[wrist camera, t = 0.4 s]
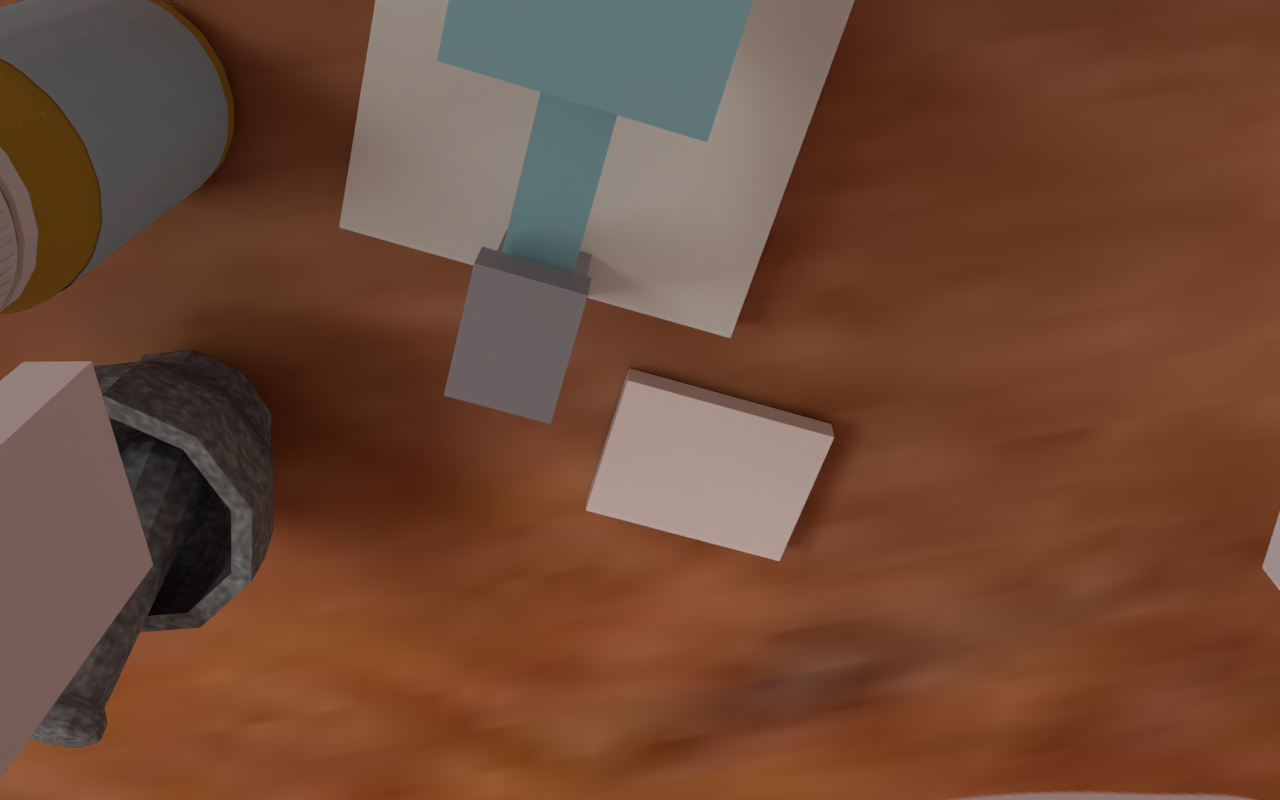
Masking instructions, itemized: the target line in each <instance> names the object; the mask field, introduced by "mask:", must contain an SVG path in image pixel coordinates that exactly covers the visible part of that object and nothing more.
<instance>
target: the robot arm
mask: <svg viewBox="0 0 1280 800" xmlns="http://www.w3.org/2000/svg"><path fill="white" fill-rule="evenodd" d="M152 566H153V562H152V559H151V556H150V552H149V549H148V546H147V542H146V539H145V536H144V532H143V529H142V526H141V523H140V519H139V516H138V513H137V509H136V506H135V503H134V499H133V496H132V493H131V489H130V486H129V483H128V479H127V476H126V473H125V470H124V466H123V463H122V460H121V456H120V453H119V450H118V446H117V443H116V440H115V436H114V433H113V430H112V427H111V423H110V420H109V417H108V413H107V410H106V407H105V403H104V400H103V397H102V393H101V390H100V387H99V383H98V380H97V377H96V374H95V370H94V367H93V364H92V361H70V362H23V363H21V364H20V365H19V366H18V367H17V368H15V369H14V370H13V371H12V372H10V373H9V374H8V375H7V376H6V377H4V378H3V379H2V380H1V381H0V779H1V778H2V776H3V775H4V773H5V772H6V771H7V769H8V768H9V766H10V765H11V764H12V762H13V761H14V759H15V758H16V757H17V755H18V754H19V752H20V751H21V750H22V748H23V747H24V745H25V744H26V743H27V741H28V740H29V738H30V737H31V736H32V734H33V733H34V731H35V730H36V728H37V727H38V726H39V724H40V723H41V721H42V720H43V719H44V717H45V716H46V714H47V713H48V712H49V710H50V709H51V707H52V706H53V705H54V703H55V702H56V700H57V699H58V698H59V696H60V695H61V693H62V692H63V691H64V689H65V688H66V686H67V685H68V684H69V682H70V681H71V679H72V678H73V677H74V675H75V674H76V672H77V671H78V670H79V668H80V667H81V665H82V664H83V663H84V661H85V660H86V658H87V657H88V656H89V654H90V653H91V651H92V650H93V649H94V647H95V646H96V644H97V643H98V642H99V640H100V639H101V637H102V636H103V635H104V633H105V632H106V630H107V629H108V628H109V626H110V625H111V623H112V622H113V621H114V619H115V618H116V616H117V615H118V614H119V612H120V611H121V609H122V608H123V606H124V605H125V604H126V602H127V601H128V599H129V598H130V597H131V595H132V594H133V592H134V591H135V590H136V588H137V587H138V585H139V584H140V583H141V581H142V580H143V578H144V577H145V576H146V574H147V573H148V571H149V570H150V569H151V567H152ZM1262 568H1263V570H1264V571H1265V572H1266V573H1267V575H1268V576H1269V577H1270V579H1271V580H1272V581H1273V583H1274V584H1275V585H1276V586H1277V588H1278V589H1279V590H1280V513H1279V516H1278V519H1277V522H1276V525H1275V529H1274V532H1273V535H1272V538H1271V541H1270V544H1269V548H1268V551H1267V554H1266V557H1265V560H1264V564H1263V567H1262Z"/></svg>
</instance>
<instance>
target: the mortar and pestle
mask: <svg viewBox="0 0 1280 800" xmlns="http://www.w3.org/2000/svg"><path fill="white" fill-rule="evenodd" d="M94 370H95V374H96V377H97V380H98V383H99V387H100V390H101V393H102V397H103V400H104V403H105V407H106V410H107V413H108V417H109V420H110V423H111V427H112V430H113V433H114V436H115V440H116V443H117V446H118V450H119V453H120V456H121V460H122V463H123V466H124V470H125V473H126V476H127V479H128V483H129V486H130V489H131V493H132V496H133V499H134V503H135V506H136V509H137V513H138V516H139V519H140V523H141V526H142V529H143V532H144V536H145V539H146V542H147V546H148V549H149V552H150V556H151V559H152V562H153V566H152V567H151V569H150V570H149V571H148V573H147V574H146V576H145V577H144V578H143V580H142V581H141V583H140V584H139V585H138V587H137V588H136V590H135V591H134V592H133V594H132V595H131V597H130V598H129V599H128V601H127V602H126V604H125V605H124V606H123V608H122V609H121V611H120V612H119V614H118V615H117V616H116V618H115V619H114V621H113V622H112V623H111V625H110V626H109V628H108V629H107V630H106V632H105V633H104V635H103V636H102V637H101V639H100V640H99V642H98V643H97V644H96V646H95V647H94V649H93V650H92V651H91V653H90V654H89V656H88V657H87V658H86V660H85V661H84V663H83V664H82V665H81V667H80V668H79V670H78V671H77V672H76V674H75V675H74V677H73V678H72V679H71V681H70V682H69V684H68V685H67V686H66V688H65V689H64V691H63V692H62V693H61V695H60V696H59V698H58V699H57V700H56V702H55V703H54V705H53V706H52V707H51V709H50V710H49V712H48V713H47V714H46V716H45V717H44V719H43V720H42V721H41V723H40V724H39V726H38V727H37V728H36V730H35V731H34V733H33V734H32V736H31V737H30V738H31V739H34V740H37V741H40V742H43V743H47V744H52V745H57V746H65V747H83V746H87V745H90V744H93V743H97V742H98V741H99V740H100V739H101V738H102V736H103V733H104V731H105V729H106V726H107V719H106V714H105V709H104V708H105V706H106V704H107V702H108V700H109V698H110V695H111V693H112V691H113V689H114V687H115V685H116V682H117V680H118V678H119V676H120V674H121V672H122V670H123V667H124V665H125V663H126V661H127V659H128V657H129V654H130V652H131V650H132V648H133V646H134V644H135V642H136V639H137V637H138V635H139V633H140V632H148V631H160V630H173V629H185V628H197V627H201V626H202V625H203V624H204V623H206V622H207V621H208V620H209V619H210V618H211V617H212V616H213V615H214V614H216V613H217V612H218V611H219V610H220V609H221V608H222V607H223V606H224V605H226V604H227V603H228V602H229V601H230V600H231V599H232V598H233V597H235V596H236V595H237V594H238V593H239V592H240V591H241V590H242V589H243V588H245V587H246V586H247V585H248V584H249V583H250V582H251V581H252V579H253V578H254V576H255V574H256V572H257V571H258V569H259V567H260V565H261V564H262V562H263V560H264V559H265V556H266V552H267V549H268V545H269V542H270V539H271V535H272V532H273V506H274V462H273V458H272V455H271V412H270V410H269V409H268V408H267V406H266V405H265V403H264V402H263V401H262V399H261V398H260V396H259V395H258V394H257V392H256V391H255V390H254V388H253V387H252V385H251V384H250V383H249V381H248V380H247V379H246V377H245V376H244V374H243V373H242V372H240V371H238V370H236V369H234V368H231V367H229V366H227V365H225V364H223V363H221V362H218V361H216V360H214V359H212V358H210V357H208V356H205V355H203V354H201V353H199V352H197V351H195V350H187V351H178V352H168V353H159V354H150V355H144V356H143V357H142V358H141V360H140V361H139V362H132V363H123V364H113V365H104V366H95V367H94Z"/></svg>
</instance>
